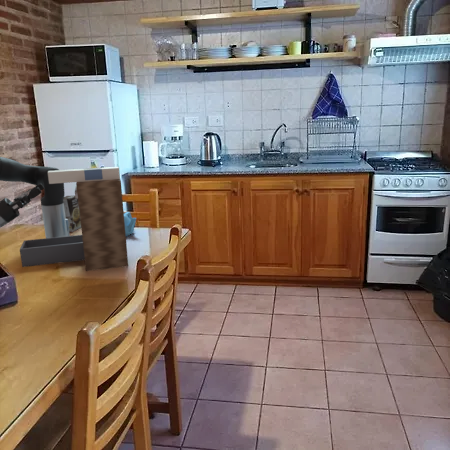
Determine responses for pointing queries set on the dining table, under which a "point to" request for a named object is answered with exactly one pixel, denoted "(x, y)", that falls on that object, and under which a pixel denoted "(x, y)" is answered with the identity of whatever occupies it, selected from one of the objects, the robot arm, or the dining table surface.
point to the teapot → (129, 223)
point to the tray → (52, 250)
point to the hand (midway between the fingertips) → (41, 187)
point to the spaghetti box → (83, 175)
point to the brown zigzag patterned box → (102, 223)
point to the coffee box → (72, 212)
